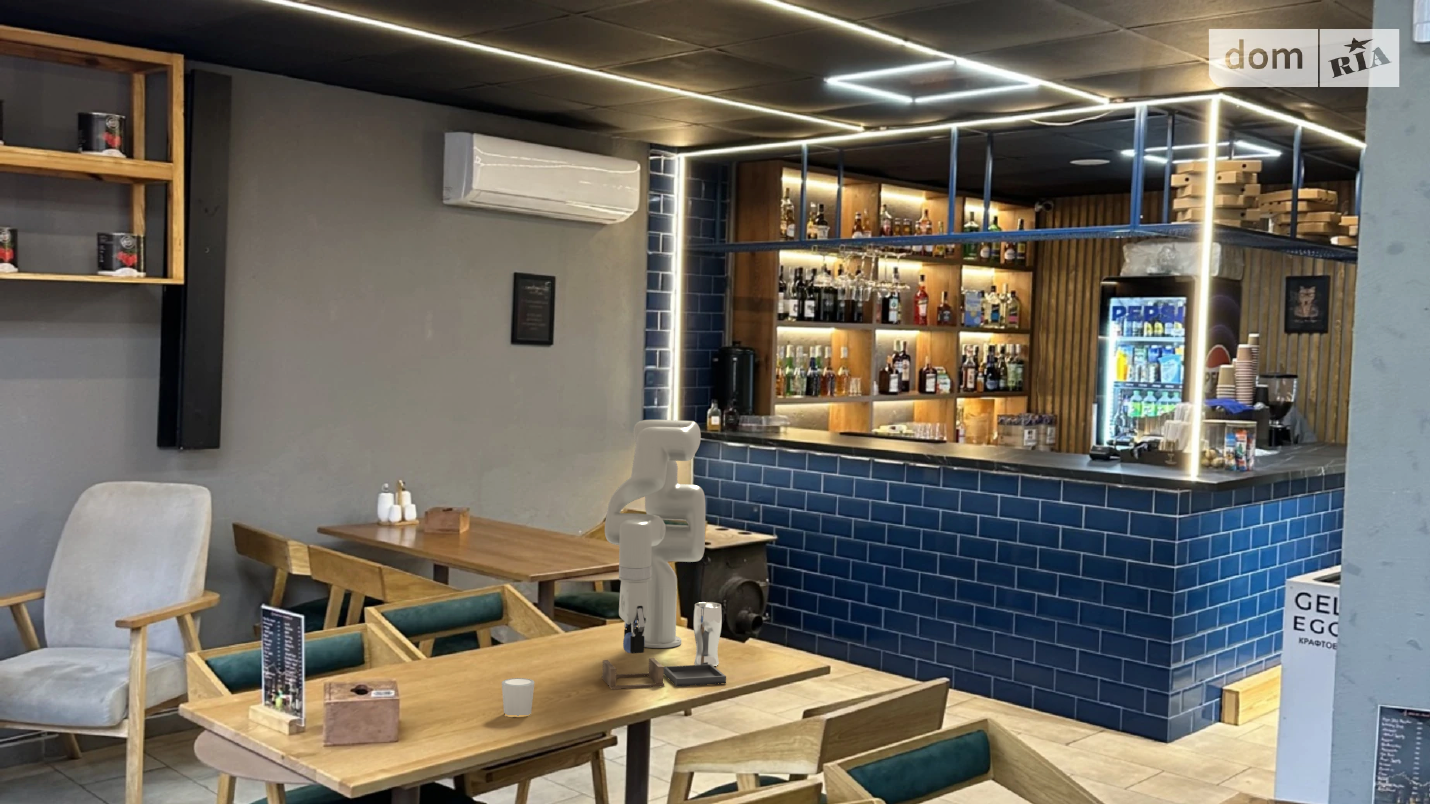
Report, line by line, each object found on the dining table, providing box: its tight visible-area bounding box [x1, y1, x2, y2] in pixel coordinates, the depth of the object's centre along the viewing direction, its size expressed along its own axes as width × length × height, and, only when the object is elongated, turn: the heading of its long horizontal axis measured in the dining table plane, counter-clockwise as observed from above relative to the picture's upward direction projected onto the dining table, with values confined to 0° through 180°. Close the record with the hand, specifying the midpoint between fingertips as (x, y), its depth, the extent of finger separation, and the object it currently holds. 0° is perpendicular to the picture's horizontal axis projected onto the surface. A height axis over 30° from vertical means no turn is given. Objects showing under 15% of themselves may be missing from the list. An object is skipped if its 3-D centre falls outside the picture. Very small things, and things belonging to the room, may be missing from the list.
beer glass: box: [693, 601, 723, 667], centre depth 321 cm, size 7×7×15 cm
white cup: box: [501, 677, 535, 716], centre depth 274 cm, size 7×7×7 cm
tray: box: [663, 664, 727, 687], centre depth 307 cm, size 12×12×2 cm
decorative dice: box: [622, 632, 645, 654], centre depth 303 cm, size 4×4×4 cm
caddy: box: [601, 657, 665, 690], centre depth 303 cm, size 11×12×4 cm
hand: (634, 648), depth 304 cm, fingers closed on decorative dice, 5 cm apart
